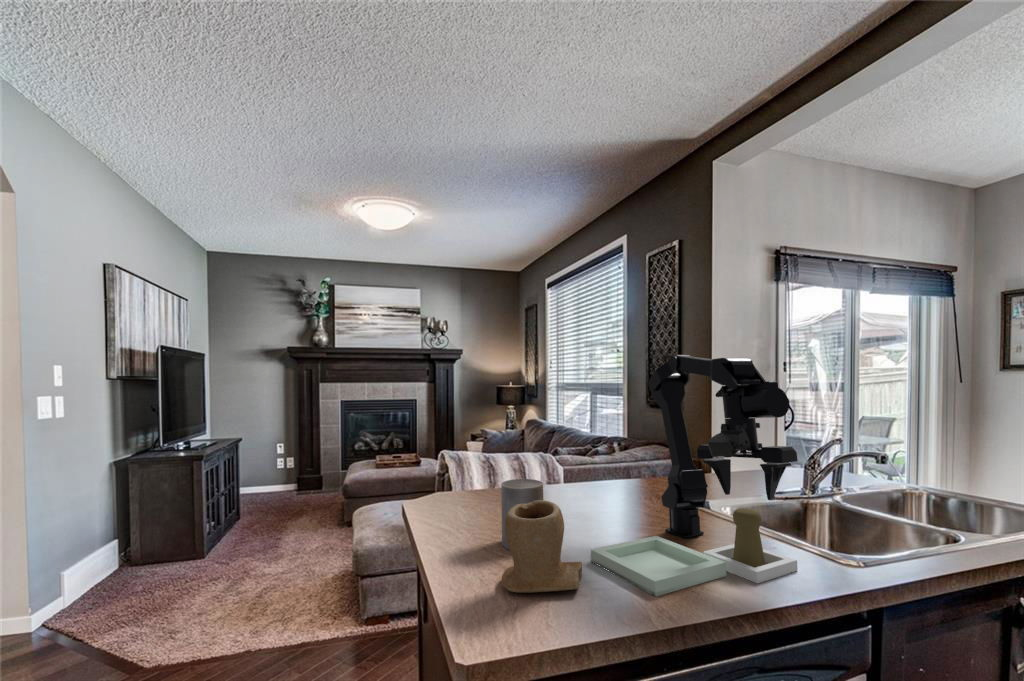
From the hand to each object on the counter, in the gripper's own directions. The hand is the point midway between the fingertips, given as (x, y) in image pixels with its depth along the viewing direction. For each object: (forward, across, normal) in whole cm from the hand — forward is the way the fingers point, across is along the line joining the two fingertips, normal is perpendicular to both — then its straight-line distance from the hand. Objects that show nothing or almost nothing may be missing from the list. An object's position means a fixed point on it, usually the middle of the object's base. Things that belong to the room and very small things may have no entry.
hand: (748, 497), depth 96 cm
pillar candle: (+12, -36, -31) cm, 49 cm away
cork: (+14, -1, 0) cm, 14 cm away
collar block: (+13, -1, 0) cm, 13 cm away
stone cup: (+14, -15, -40) cm, 45 cm away
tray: (+13, -10, -16) cm, 23 cm away
